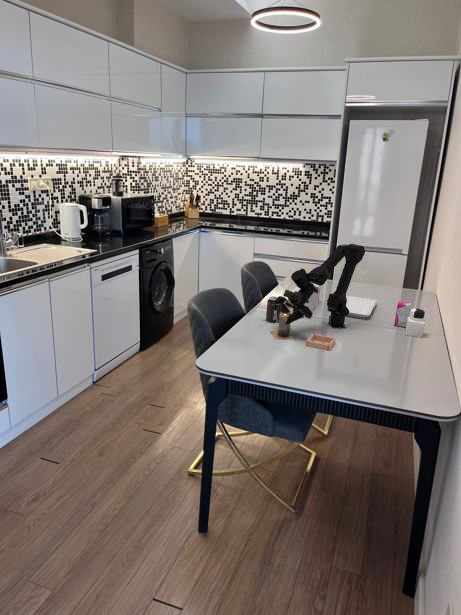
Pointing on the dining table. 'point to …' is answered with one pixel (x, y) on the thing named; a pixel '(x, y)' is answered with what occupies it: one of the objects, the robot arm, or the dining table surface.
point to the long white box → (312, 300)
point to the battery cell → (284, 324)
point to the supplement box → (402, 314)
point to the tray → (360, 306)
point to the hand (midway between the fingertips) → (282, 322)
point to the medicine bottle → (415, 323)
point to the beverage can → (273, 310)
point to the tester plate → (291, 336)
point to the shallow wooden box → (320, 345)
